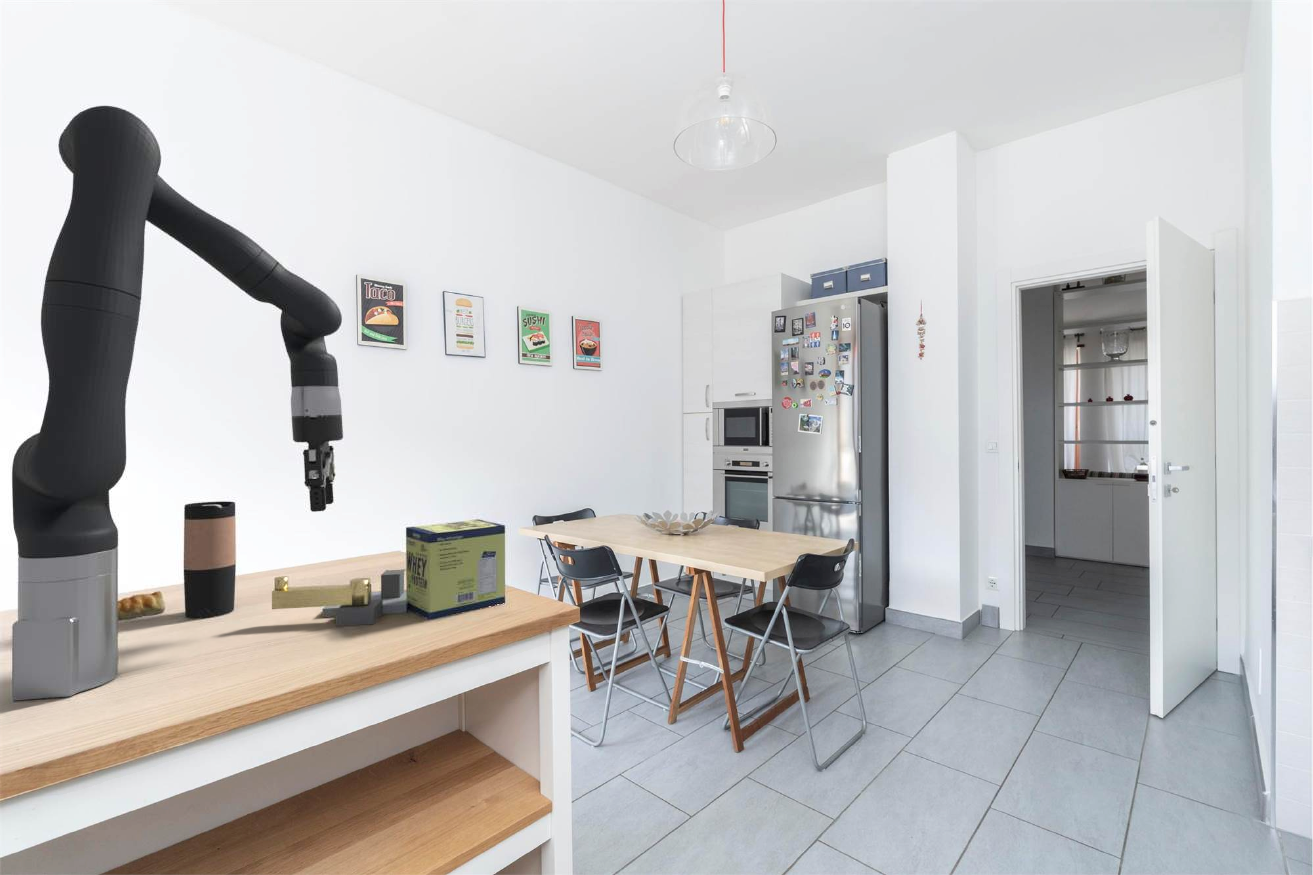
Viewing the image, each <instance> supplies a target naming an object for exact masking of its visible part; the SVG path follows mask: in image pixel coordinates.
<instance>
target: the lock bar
mask: <svg viewBox="0 0 1313 875" xmlns="http://www.w3.org/2000/svg"><path fill="white" fill-rule="evenodd" d="M371 592H372V583H371V578H369V577H358V578H353V579H350V580H349V584H335V585H334V584H333V585H332V584H331V585H330V584H329V585H311V586H289V576H283V575H282V576H276V577H274V590H271V610H281V609H283V610H284V609H301V608H319V607H323V608H324V607H325V606H342V605H363V604H368V603H370V601H371Z"/></svg>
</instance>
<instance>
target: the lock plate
mask: <svg viewBox="0 0 1313 875" xmlns="http://www.w3.org/2000/svg"><path fill="white" fill-rule="evenodd" d="M408 611H409V607H408V601H407V600H406V589H405V569H386V570H385V571H384V572H382V573H381V575H380V591H379V590H378V591H376V590H375V591H371V601H370V603H368V604H363V605H342V606H323V608H322V618H330V617H335V626H336V627H342V626H343V627H345V626H347V627H348V626H359V625H360V626H361V625H374V624H376V623H377V621H378V620H379V619H380V617H382V615H384V614H385V615H388V614H400V613H401V614H402V613H407V612H408Z"/></svg>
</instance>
